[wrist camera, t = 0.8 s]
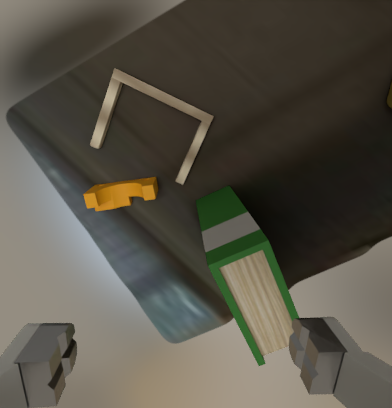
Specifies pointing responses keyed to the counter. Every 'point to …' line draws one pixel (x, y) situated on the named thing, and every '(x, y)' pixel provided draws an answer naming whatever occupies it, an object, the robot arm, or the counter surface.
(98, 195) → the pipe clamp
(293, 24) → the counter surface
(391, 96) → the flower pot
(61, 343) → the robot arm
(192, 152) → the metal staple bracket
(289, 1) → the counter surface
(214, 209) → the hardback book
